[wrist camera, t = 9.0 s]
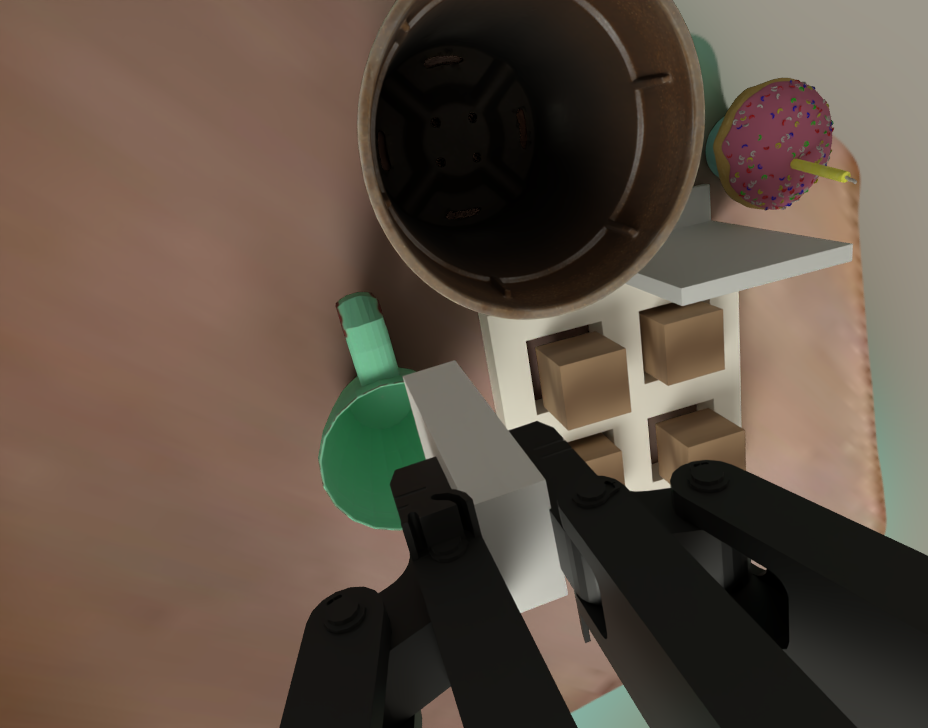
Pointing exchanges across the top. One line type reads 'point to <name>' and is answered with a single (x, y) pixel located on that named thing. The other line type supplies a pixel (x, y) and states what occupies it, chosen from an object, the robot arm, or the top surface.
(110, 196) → the top surface
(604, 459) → the button
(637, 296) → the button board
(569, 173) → the plant pot
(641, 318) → the button
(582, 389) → the button
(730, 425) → the button
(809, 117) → the cupcake
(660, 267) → the card
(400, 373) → the mug
